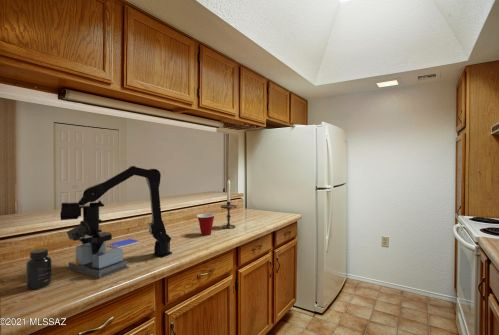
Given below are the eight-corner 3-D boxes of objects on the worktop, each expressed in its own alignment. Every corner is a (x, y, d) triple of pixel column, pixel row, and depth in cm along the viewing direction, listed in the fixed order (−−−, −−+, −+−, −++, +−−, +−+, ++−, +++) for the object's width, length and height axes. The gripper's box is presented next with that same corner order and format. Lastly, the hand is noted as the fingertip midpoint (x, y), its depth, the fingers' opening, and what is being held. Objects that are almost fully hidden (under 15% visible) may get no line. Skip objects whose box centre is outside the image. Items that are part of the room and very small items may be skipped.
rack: (98, 259, 119) (98, 242, 119) (129, 267, 109) (129, 249, 109) (67, 268, 108) (67, 249, 107) (99, 278, 98) (99, 258, 98)
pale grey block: (99, 256, 116) (99, 240, 116) (105, 257, 115) (105, 241, 115) (75, 263, 108) (75, 246, 108) (81, 265, 106) (81, 247, 106)
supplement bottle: (21, 288, 90) (21, 252, 90) (43, 280, 97) (43, 246, 97) (34, 291, 88) (34, 254, 88) (56, 283, 94) (56, 248, 94)
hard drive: (116, 246, 134) (138, 240, 144) (107, 243, 138) (129, 238, 148) (116, 249, 134) (138, 243, 144) (107, 246, 138) (129, 241, 148)
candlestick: (237, 228, 176) (238, 175, 176) (221, 229, 174) (221, 175, 174) (235, 225, 187) (235, 174, 187) (219, 225, 185) (219, 174, 184)
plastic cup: (195, 232, 166) (195, 213, 165) (213, 231, 169) (213, 212, 169) (197, 237, 155) (197, 216, 155) (216, 235, 159) (216, 215, 158)
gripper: (57, 219, 108) (57, 258, 108) (84, 224, 99) (84, 266, 100) (85, 214, 118) (85, 250, 118) (112, 218, 109) (112, 257, 109)
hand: (91, 255), depth 111 cm, fingers closed on pale grey block, 4 cm apart
